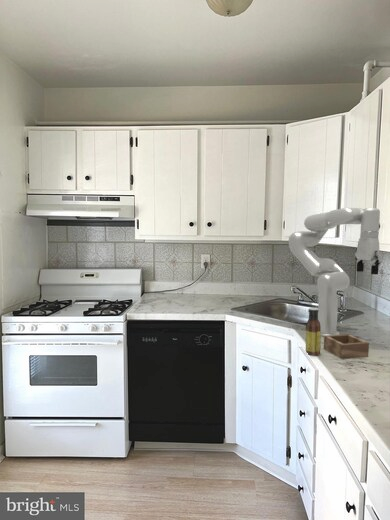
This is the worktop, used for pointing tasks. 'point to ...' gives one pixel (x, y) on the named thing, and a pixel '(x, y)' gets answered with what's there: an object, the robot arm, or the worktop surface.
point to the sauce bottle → (313, 333)
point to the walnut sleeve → (346, 346)
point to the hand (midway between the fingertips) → (367, 272)
